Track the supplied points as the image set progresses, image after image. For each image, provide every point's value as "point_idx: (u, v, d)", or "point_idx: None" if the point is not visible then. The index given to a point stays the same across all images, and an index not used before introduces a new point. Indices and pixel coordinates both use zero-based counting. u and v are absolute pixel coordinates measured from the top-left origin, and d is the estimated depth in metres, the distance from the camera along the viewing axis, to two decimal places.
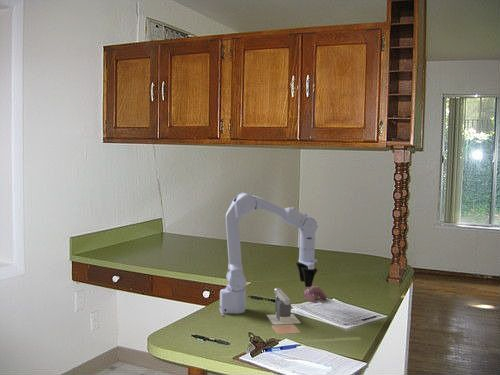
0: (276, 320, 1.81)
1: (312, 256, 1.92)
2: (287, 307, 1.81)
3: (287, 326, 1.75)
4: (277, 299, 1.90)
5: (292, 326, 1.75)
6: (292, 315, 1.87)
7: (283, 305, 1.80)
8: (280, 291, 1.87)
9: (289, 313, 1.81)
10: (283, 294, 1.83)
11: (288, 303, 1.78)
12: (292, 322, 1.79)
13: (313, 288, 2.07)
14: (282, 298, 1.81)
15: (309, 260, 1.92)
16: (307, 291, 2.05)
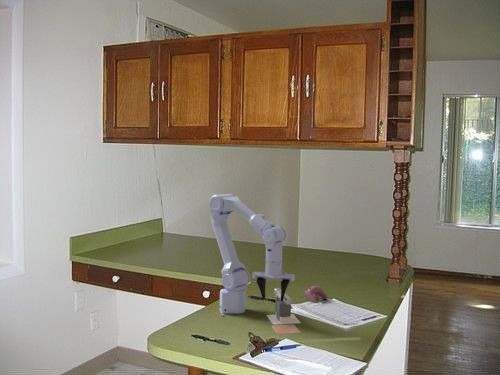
0: (276, 320, 1.81)
1: (266, 269, 1.79)
2: (287, 307, 1.81)
3: (287, 326, 1.75)
4: (277, 299, 1.90)
5: (292, 326, 1.75)
6: (292, 315, 1.87)
7: (283, 305, 1.80)
8: (280, 291, 1.87)
9: (289, 313, 1.81)
10: (284, 294, 1.83)
11: (290, 303, 1.78)
12: (292, 322, 1.79)
13: (314, 288, 2.07)
14: None
15: (265, 272, 1.80)
16: (308, 291, 2.05)
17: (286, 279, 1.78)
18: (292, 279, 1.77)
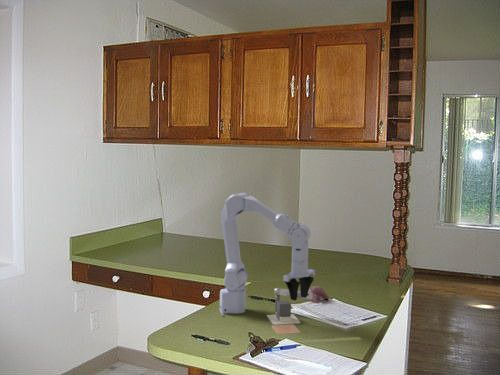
0: (276, 320, 1.81)
1: (298, 269, 1.79)
2: (287, 307, 1.81)
3: (287, 326, 1.75)
4: (277, 299, 1.90)
5: (292, 326, 1.75)
6: (292, 315, 1.87)
7: (283, 305, 1.80)
8: (287, 290, 1.89)
9: (289, 313, 1.81)
10: None
11: (312, 297, 1.86)
12: (292, 322, 1.79)
13: (315, 288, 2.07)
14: None
15: (295, 272, 1.80)
16: (309, 291, 2.05)
17: None
18: (314, 273, 1.86)
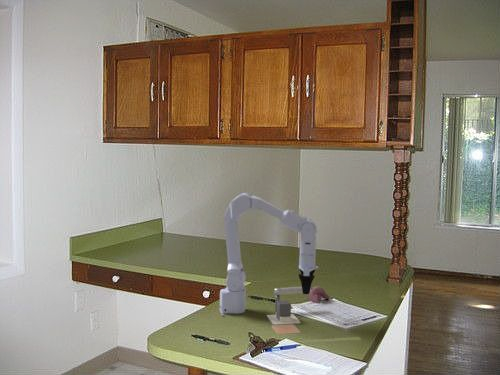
0: (276, 320, 1.81)
1: (311, 262, 1.84)
2: (287, 307, 1.81)
3: (287, 326, 1.75)
4: (277, 299, 1.90)
5: (292, 326, 1.75)
6: (292, 315, 1.87)
7: (283, 305, 1.80)
8: (287, 288, 1.91)
9: (289, 313, 1.81)
10: (296, 287, 1.93)
11: None
12: (292, 322, 1.79)
13: (316, 288, 2.06)
14: None
15: (308, 266, 1.84)
16: (310, 292, 2.05)
17: None
18: None
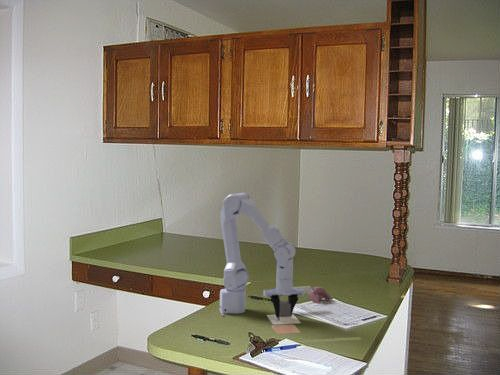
0: (276, 320, 1.81)
1: (279, 286, 1.80)
2: (287, 307, 1.81)
3: (287, 326, 1.75)
4: None
5: (292, 326, 1.75)
6: (292, 315, 1.87)
7: (283, 305, 1.80)
8: None
9: (289, 313, 1.81)
10: (296, 287, 1.93)
11: None
12: (292, 322, 1.79)
13: (317, 289, 2.06)
14: None
15: (276, 289, 1.81)
16: (311, 292, 2.04)
17: (297, 294, 1.82)
18: (303, 293, 1.82)
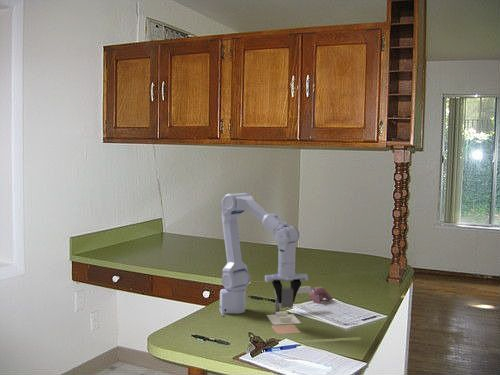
0: (276, 320, 1.81)
1: (281, 271, 1.72)
2: (289, 293, 1.73)
3: (287, 326, 1.75)
4: None
5: (292, 326, 1.75)
6: (292, 315, 1.87)
7: (285, 291, 1.73)
8: None
9: (291, 299, 1.74)
10: None
11: None
12: (292, 322, 1.79)
13: (318, 289, 2.06)
14: (302, 289, 1.93)
15: (278, 274, 1.74)
16: (312, 292, 2.04)
17: (300, 279, 1.75)
18: (306, 278, 1.75)
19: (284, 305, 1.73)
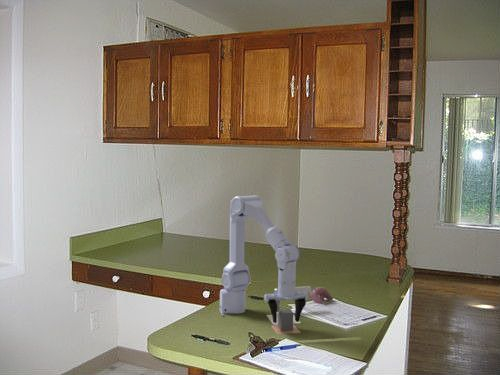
0: None
1: (281, 290, 1.69)
2: (289, 317, 1.71)
3: None
4: None
5: None
6: None
7: (285, 314, 1.70)
8: None
9: (291, 323, 1.71)
10: (296, 287, 1.93)
11: None
12: None
13: (319, 289, 2.06)
14: (302, 289, 1.93)
15: (278, 293, 1.71)
16: (313, 292, 2.04)
17: (300, 298, 1.72)
18: (306, 298, 1.72)
19: (284, 329, 1.71)
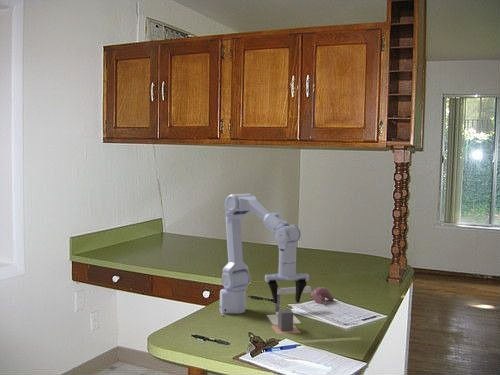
0: (276, 320, 1.81)
1: (281, 270, 1.69)
2: (289, 317, 1.71)
3: None
4: (277, 299, 1.90)
5: None
6: None
7: (285, 314, 1.70)
8: (287, 288, 1.91)
9: (291, 323, 1.71)
10: None
11: None
12: None
13: (320, 289, 2.05)
14: None
15: (279, 274, 1.70)
16: (314, 292, 2.04)
17: (300, 279, 1.72)
18: (307, 278, 1.72)
19: (284, 329, 1.71)
